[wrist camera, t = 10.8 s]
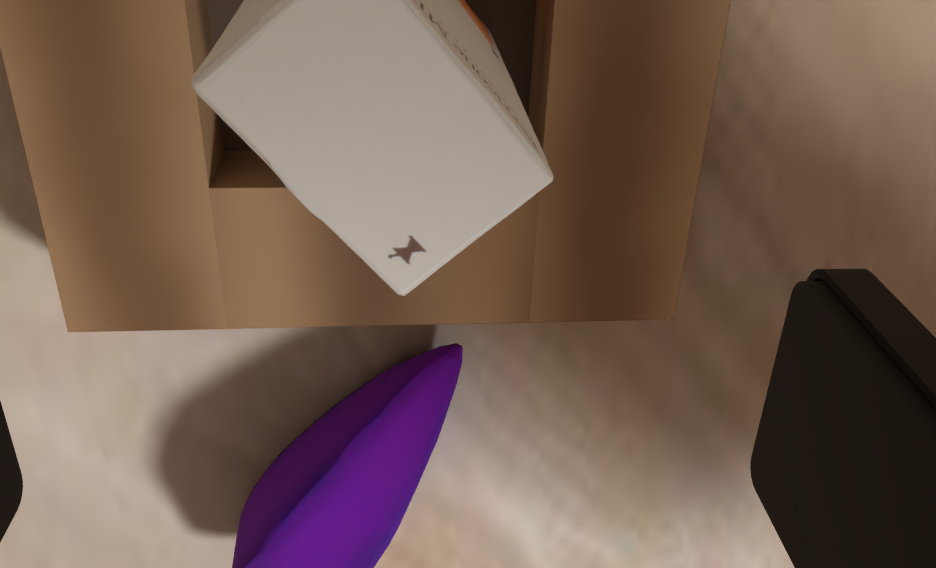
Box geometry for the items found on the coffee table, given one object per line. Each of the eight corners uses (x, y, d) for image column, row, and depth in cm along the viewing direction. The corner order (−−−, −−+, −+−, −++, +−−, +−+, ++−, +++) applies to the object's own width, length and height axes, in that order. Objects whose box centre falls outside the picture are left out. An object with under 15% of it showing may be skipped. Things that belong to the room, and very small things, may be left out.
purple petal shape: (520, 408, 31) (294, 679, 35) (496, 341, 35) (297, 589, 39) (410, 346, 29) (185, 639, 33) (398, 284, 34) (201, 549, 38)
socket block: (749, -398, 23) (805, -423, 20) (646, 269, 33) (673, 319, 30) (-53, -442, 21) (-125, -478, 18) (98, 277, 31) (68, 332, 28)
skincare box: (496, 31, 27) (566, 187, 17) (392, 115, 28) (399, 309, 18) (366, -136, 25) (357, -71, 14) (257, -36, 26) (176, 91, 15)
